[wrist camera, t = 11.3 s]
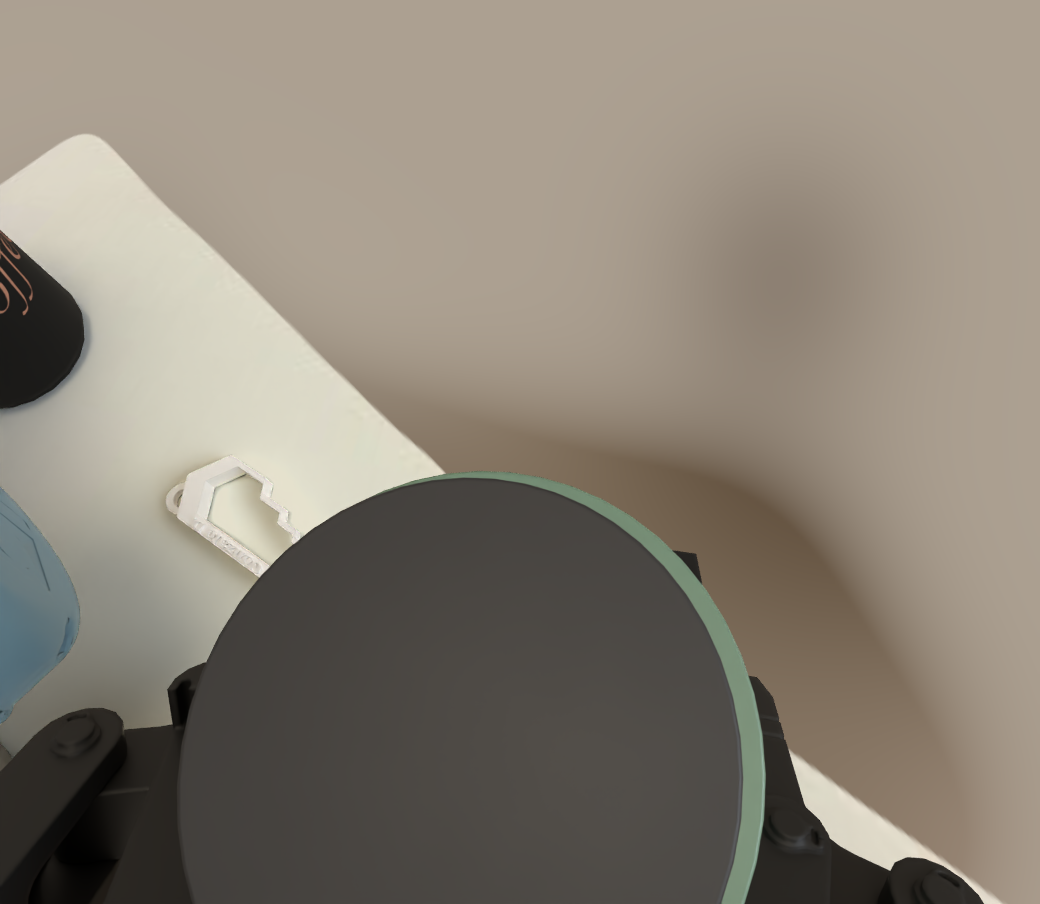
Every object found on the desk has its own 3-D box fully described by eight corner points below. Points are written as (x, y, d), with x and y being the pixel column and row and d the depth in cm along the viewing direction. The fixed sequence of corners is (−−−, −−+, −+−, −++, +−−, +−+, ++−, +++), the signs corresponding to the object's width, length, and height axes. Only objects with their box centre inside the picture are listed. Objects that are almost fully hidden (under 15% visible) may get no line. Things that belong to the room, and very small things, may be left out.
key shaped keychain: (366, 548, 41) (359, 541, 40) (315, 616, 40) (305, 611, 38) (216, 446, 44) (203, 435, 43) (163, 505, 43) (148, 497, 41)
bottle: (406, 765, 23) (-56, 896, 5) (493, 611, 25) (365, 331, 7) (560, 864, 22) (622, 1476, 4) (639, 694, 23) (916, 599, 6)
